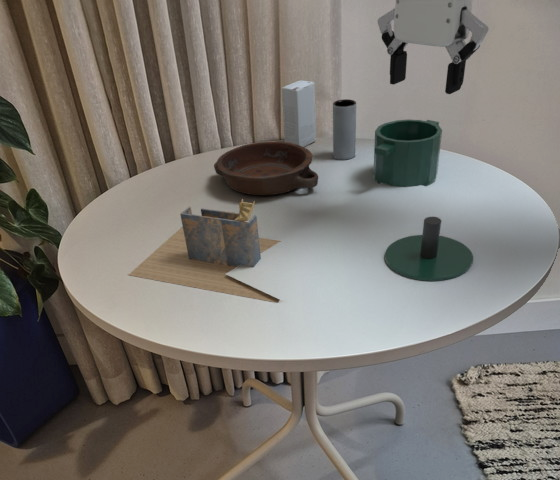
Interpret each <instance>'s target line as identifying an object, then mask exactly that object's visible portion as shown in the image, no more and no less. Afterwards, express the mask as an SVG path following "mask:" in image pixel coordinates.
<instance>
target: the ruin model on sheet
mask: <svg viewBox="0 0 560 480" xmlns="http://www.w3.org/2000/svg"><path fill="white" fill-rule="evenodd" d="M255 204H256V201H255V200H253V202H247V201H246V202H245V201H244V199H243V198H242V199H241V201H240V203H238V208H239V209H238V210H239V212H233V211H225V210H218V209H212V208H211V209H209V208H203V207H201V208H200V214H201V215H198V214H193V212H192V206H187V208H185V209H184V210H183V211H181V213H179V215H180V220H181V227H180V228H179V229H177V231H175V233H173V234H172V235H171V236H170V237H168V239H167V240H165V241H164V242H163V243H162V244H161V245H160V246H159V247H158V248H156V249H155V250H154V251H153V252H152V253H150V255H148V257H146V258H145V259H144V260H143V261H142V262H141V263H139V265H138V266H136V267H135V268H134V269H133V270H132V271H131V272H130V273H128V276H132V277H138V278H144V279H148V280H155V281H159V282H164V283H170V284H175V285H181V286H185V287H191V288H197V289H202V290H207V291H214V292H218V293H224V294H228V295H235V296H239V297H246V298H250V299H251V298H252V299H255V300H262V301H266V302H267V301H268V302H273V303H279V302H280V300H281V299H279V298H277V297H275V296H273V295H271V294H269V293H267V292H265V291H263V290H260V289H258V288H257V287H254V286H251V285H250V284H247V283H245V282H243V281H241V280H239V279H236V278H235V277H232V276H230V275H229V274H228V273H229V272H232V271H233V270H235V269H237V268H238V267H240V266H244V267H250V268H255V266H256V265H258V263H259V262H260V261H261V259H262V257H261V254H262V253H264V252H265V251H267V250H269V249H270V248H272V247H274V246H276V245H277V244H279V243H281V242H282V240H277V239H270V238H264V237H259V235H260V234H259V226H258V216H257V215H256V214H254V215H253V216H251V215H252V213H253V211H254V208H255ZM250 217H251V218H250Z"/></svg>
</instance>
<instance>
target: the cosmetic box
mask: <svg viewBox="0 0 560 480" xmlns="http://www.w3.org/2000/svg"><path fill="white" fill-rule="evenodd" d="M281 97H282V117H283V119H282V120H283V135H284V136H283V137H284V142H289V143H293V144H297V145H300V146H302V147H304V148H306V147H307V146H309V145H310V144H313V143H315V142H316V141H317V121H316V120H317V119H316V83H315V81H309V80H302V79H301V80H297V81H295V82H292V83H290V84H287V85H285V86H282V87H281Z"/></svg>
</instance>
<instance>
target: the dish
mask: <svg viewBox="0 0 560 480" xmlns="http://www.w3.org/2000/svg"><path fill="white" fill-rule="evenodd" d="M313 159H314V156H313V153H312V152H311V150H309V149H308V148H306V147H302V146H300V145H297V144H293V143H289V142H285V141H277V140H276V141H261V142H260V141H259V142H253V143H252V142H251V143H247V144H244V145H241V146H238V147H235V148H233V149H231V150H228V151H226V152H224V153H223V154H221V155H220V156H219V157H218V159H217V160H216V162H215V163H214V165H213V168H214V171H215V173H216V174H217V175H218V176H221V177H223V178H224V181H225V182H226V184H227V185H228V186H229V187H230V188H231V189H232V190H234V191H236V192H239V193H242V194H247V195H254V196H273V195H279V194H286V193H288V192H291V191H294V190H295V189H312V188H315V187H317V186H318V183H319V175H318V173H317V172H316V171H314V170H313V169H311V168H310V165H311V164H312V162H313Z"/></svg>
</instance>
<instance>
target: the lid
mask: <svg viewBox="0 0 560 480" xmlns="http://www.w3.org/2000/svg"><path fill="white" fill-rule="evenodd" d="M441 228H442V219H441V218H440V217H438V216H427V217H425V218H424V219H423V224H422V232H421V233H422V234H415V235H409V236H405V237H402V238H399V239H397V240H395V241H393V242H391V243H390V244H389V245H388V247H387V248H386V249H385V253H384V260H385V262H386V266H388V268H390V269H391V270H392V271H393V272H395V273H396V274H398V275H401V276H402V277H404V278H409V279H413V280H418V281H425V282H439V281H446V280H452V279H456V278H457V277H461V276H462V275H464V274H465V273H467V272H468V271H469V270H470V269H471V268H472V266H473V262H474V255H473V252H472V251H471V249H470V248H469V247H468V246H467V245H466V244H464V243H462V242H461V241H459V240H456V239H454V238H451V237H448V236H443V235H440V234H441Z"/></svg>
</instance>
